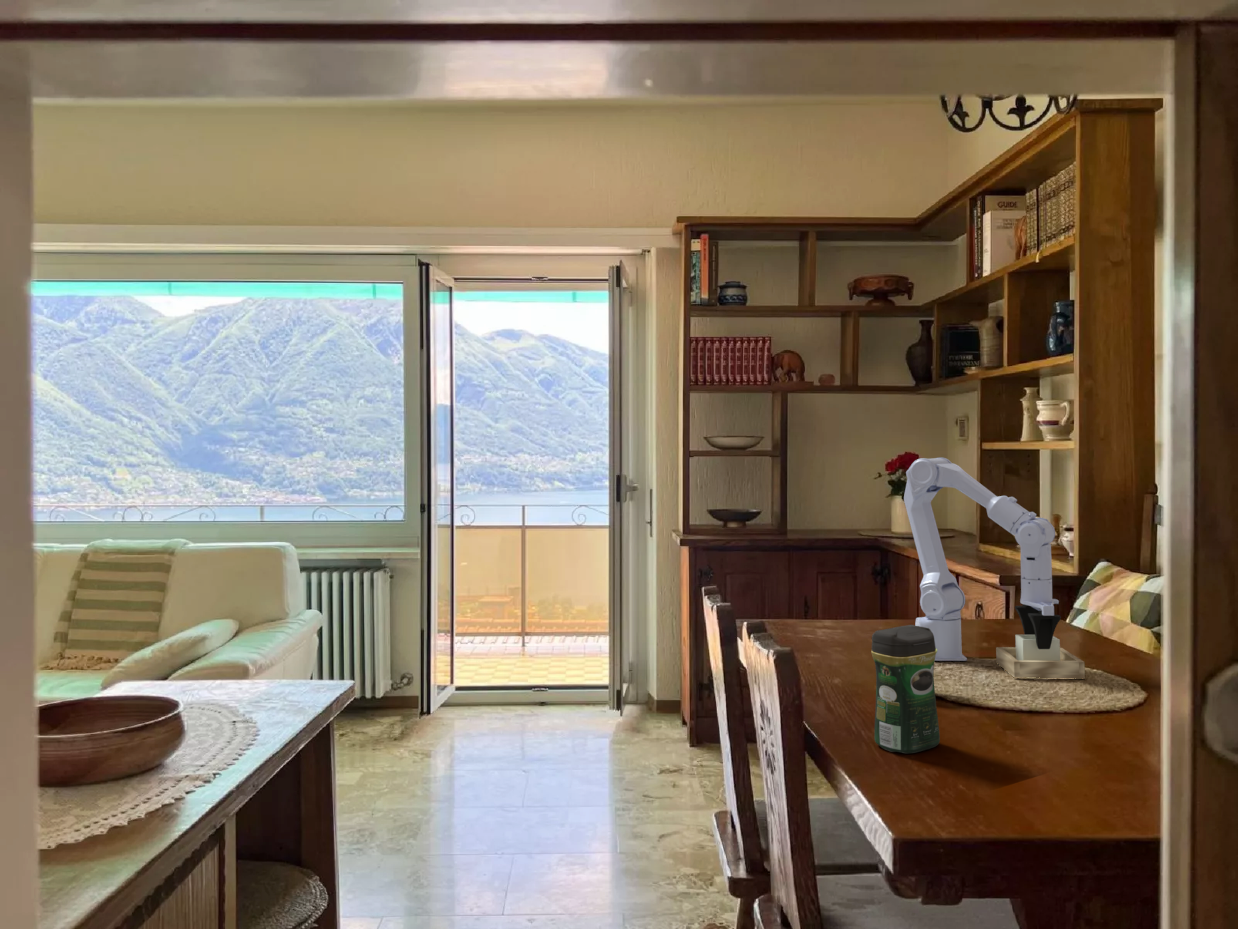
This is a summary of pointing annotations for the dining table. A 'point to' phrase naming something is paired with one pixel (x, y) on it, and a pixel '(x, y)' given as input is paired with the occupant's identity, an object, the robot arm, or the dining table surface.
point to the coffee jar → (905, 689)
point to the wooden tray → (1040, 665)
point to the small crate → (1036, 649)
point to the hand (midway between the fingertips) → (1037, 644)
